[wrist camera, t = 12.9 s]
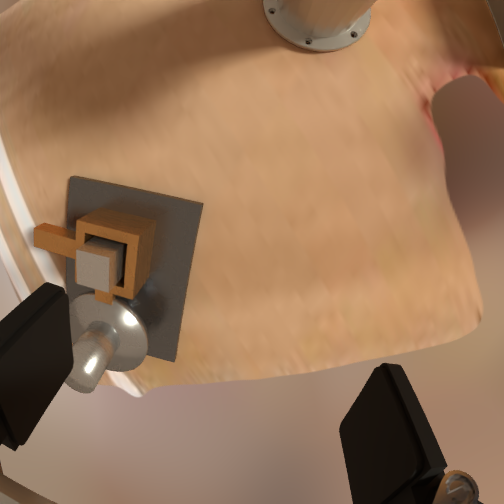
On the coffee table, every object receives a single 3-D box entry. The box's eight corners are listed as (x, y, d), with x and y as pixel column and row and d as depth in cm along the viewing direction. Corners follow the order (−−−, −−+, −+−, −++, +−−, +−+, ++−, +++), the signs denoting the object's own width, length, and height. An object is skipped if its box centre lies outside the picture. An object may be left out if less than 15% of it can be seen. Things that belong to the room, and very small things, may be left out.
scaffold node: (63, 173, 37) (-14, 198, 23) (203, 203, 38) (169, 245, 24) (62, 321, 45) (13, 378, 31) (175, 358, 46) (150, 433, 32)
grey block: (111, 224, 38) (76, 249, 30) (139, 230, 38) (109, 257, 30) (109, 253, 39) (76, 283, 31) (137, 260, 40) (108, 292, 31)
